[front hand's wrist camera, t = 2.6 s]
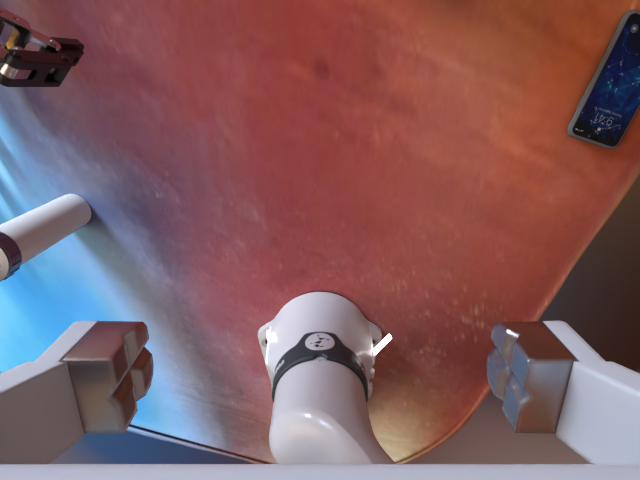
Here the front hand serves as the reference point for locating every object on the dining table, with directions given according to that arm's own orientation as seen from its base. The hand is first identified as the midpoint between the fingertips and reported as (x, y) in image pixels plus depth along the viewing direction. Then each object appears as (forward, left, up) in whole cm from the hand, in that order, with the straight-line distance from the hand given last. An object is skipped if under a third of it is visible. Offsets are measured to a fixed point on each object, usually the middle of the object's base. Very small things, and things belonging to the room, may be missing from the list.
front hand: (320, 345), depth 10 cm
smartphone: (+5, -37, -48) cm, 61 cm away
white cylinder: (-11, +34, -48) cm, 60 cm away
